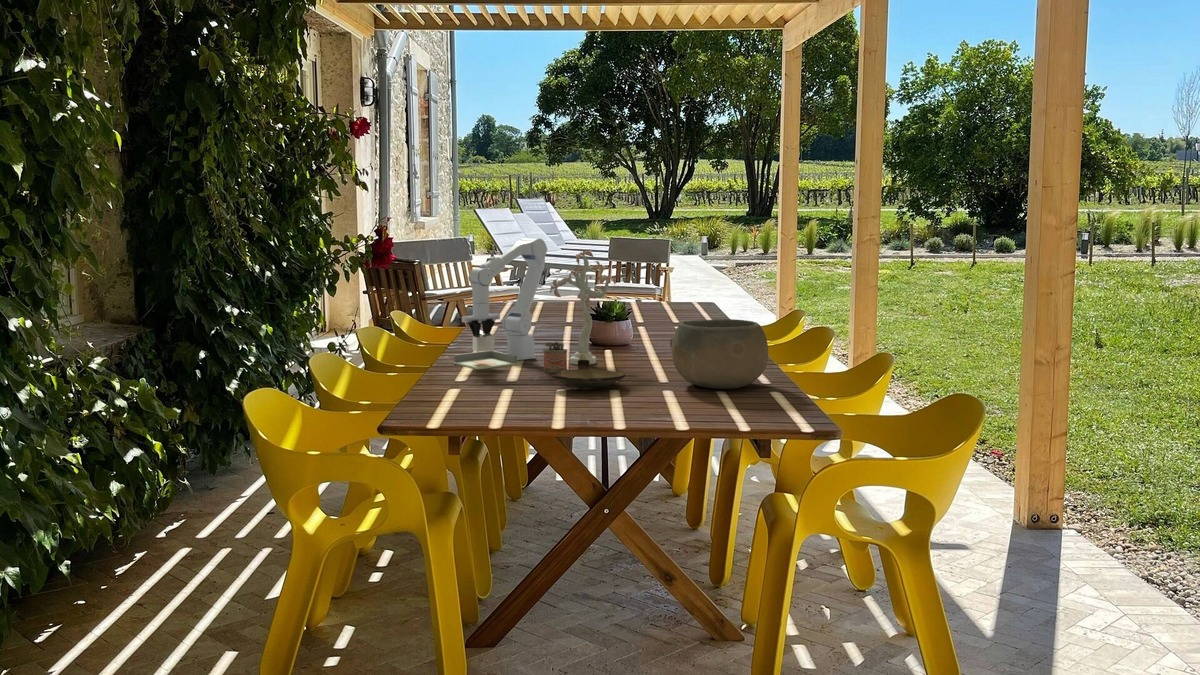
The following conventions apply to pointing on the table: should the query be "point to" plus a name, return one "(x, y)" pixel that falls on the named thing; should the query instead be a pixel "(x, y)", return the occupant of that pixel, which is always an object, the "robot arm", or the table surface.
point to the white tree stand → (584, 301)
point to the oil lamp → (587, 376)
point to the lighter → (555, 357)
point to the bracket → (483, 342)
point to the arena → (485, 359)
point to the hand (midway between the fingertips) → (481, 341)
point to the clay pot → (720, 352)
